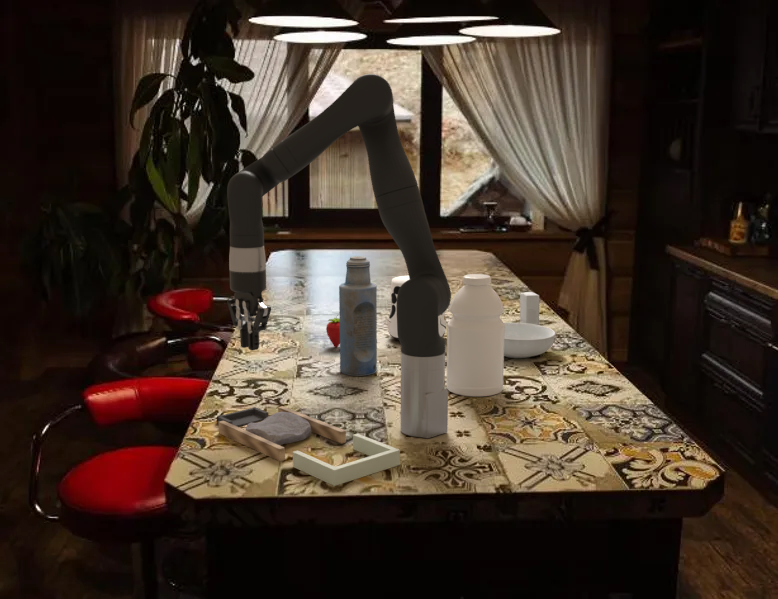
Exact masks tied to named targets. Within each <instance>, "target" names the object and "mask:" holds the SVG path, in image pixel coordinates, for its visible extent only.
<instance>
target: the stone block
mask: <svg viewBox="0 0 778 599" xmlns="http://www.w3.org/2000/svg"><path fill="white" fill-rule="evenodd" d="M245 430H246V431H248V432H250V433H253V434H255V435H257V436H259V437H262V438H264V439H266V440H268V441H271V442H273V443H275V444H277V445H280V446H283V445H285V444H292V443H296V442H299V441H303V440H305V439H307V438H309V437H310V436H311V434H312V432H311V427H310V424H309V422H308V421H307V420H305V419H303V418H301V417H300V416H298V415H295V414H293V413H288V412H278V411H277V412H275V413H273V414H271V415H268V417H267V418H266V419H264V420H262V421H258V422H254V423H252V422H251V423H249V424H246V427H245Z"/></svg>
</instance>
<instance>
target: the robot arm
mask: <svg viewBox="0 0 778 599" xmlns="http://www.w3.org/2000/svg"><path fill="white" fill-rule="evenodd" d="M356 127H358V129H359V132H360V134H361V138H362V140H363V143H364V145H365V149H366V153H367V158H368V167H369V175H370V181H371V186H372V190H373V194H374V195H373V196H374V198H375V203H376V206H377V210H378V212H379V213H378V214H379V216H380V219H381V221H382V223H383V226H384V227H385V228H386V230H387V233H388V234H389V235H390V236H391V238H392V239H393V241H394V242H395V244H396V245H397V246H398V248H399V250H400V252H401V254H402V256H403V259H404V262H405V265H406V269H407V272H408V275H409V278H410V279H409V280H407V281H406V282H404V283H403V284H402V286H401V287H400V289H399V291H398V295H397V333H398V338H399V340H398V341H399V344H400V431H401V433H402V434H403V435H407V436H409V437H415V438H424V439H430V438H433V437H436V436H440V435H442V434H443V435H444V434H446V433H448V424H449V423H448V422H449V421H448V417H449V415H448V414H449V411H448V410H449V390H448V389H447V387H446V388H445V384H446V379H445V377H446V372H445V371H446V341H445V338H444V336H443V337H441V336H440V335H439V328H438V316H439V315H441V314H442V313H445V312H447V310H448V309H449V306H450V304H451V301H452V291H451V287H450V284H449V281H448V279H447V276H446V273H445V271H444V269H443V266H442V262H441V261H440V258H439V256H438V254H437V251H436V248H435V245H434V241H433V236H432V233H431V229H430V225H429V221H428V218H427V214H426V212H425V206H424V203H423V199H422V195H421V192H420V189H419V184H418V181H417V179H416V175H415V172H414V170H413V168H412V165H411V162H410V160H409V158H408V156H407V153H406V151H405V150H404V147H403V145H402V141H401V138H400V133H399V129H398V125H397V119H396V112H395V107H394V96H393V90H392V87H391V84H390V83H389V82H388V81H387V80H386V79H385V78H384V77H382V76H381V75H379V74H375V73H367V74H362V75H361V76H359V77H357V78H355V79H354V81H353V82H352V83H351V84H350V85H349V86H348V87H347V88H346V90H344V91H343V92H342V93H341V94H340V95H339V96H338V97H337V98H336V99H335V100H334V101H333V102H332V103H330V105H329V106H327V107H326V108H325V109H324V110H323V111H321V113H319V114H318V115H317V116H316V117H314V118H313V119H311V120H310V121H308V122H307V123H306V124H304V125H302V126H301V127H299V128H298V129H297V130H295V131H294V132H292V133H291V134H290V135H289V136H287V137H286V138H284V139H283V140H280V141H279V142H278V143H277V144H275V145H274V146H273V147H272V148H270V149H269V150H268V151H266V153H264V154H263V155H262V157H260V158H258V159H257V160H256V161H254V162H252V163H250V164H249V165H247V166H245V167H244V168H243V169H242V170H240V171H238V172H237V173H235V174H234V175H232V177H231V178H230V179H229V180H228V183H227V190H226V191H227V193H226V194H227V195H226V196H227V197H226V198H227V206H228V215H229V256H228V257H229V259H228V260H229V262H228V263H229V264H228V266H229V269H228V270H229V288H230V290H231V291H232V292H234V295H233V298H228V299H227V301H226V303H227V307H228V309H229V310H228V311H229V314H230V317H231V320H232V321H231V322H232V324H233V326H234V327H235V326H236V327H237V329H238V331H239V337H240V347H241V348H243V349H245V348H248V350H250V351H255V350H258V349H259V348H260V332H262V331H265V330H266V328H267V325H268V322H269V318H270V315H271V311H272V307H271V306H270V305H267V306H266V305H265V304H264V298H263V291H265V290H266V288H267V266H266V265H267V259H266V251H265V233H264V232H265V230H264V223H263V220H262V214H263V213H262V212H263V211H262V210H263V208H262V207H263V206H262V204H263V203H262V202H263V201H262V200H263V197H264V196H266V194H268V193H269V192H270V191H272V190H273V189H274V188H275V187H276V186H278V185H280V184H281V183H283V182H285V181H287V180H289V179H290V178H292V177H294V175H296V174H298V173H299V172H300V171H302V170H304V168H306V167H307V166H308V165H310V164H311V163H312V162H313V161H315V160H316V159H317V158H318V157H320V156H321V154H323V152H325V151H326V150H327V149H328V148H329V147H330V146H332V144H334V143H335V142H336V141H338V139H340V138H341V137H342V136H344V135H345V134H346V133H349V132H350V131H351V130H353V129H355V128H356Z"/></svg>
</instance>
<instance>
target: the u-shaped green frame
mask: <svg viewBox="0 0 778 599" xmlns="http://www.w3.org/2000/svg"><path fill="white" fill-rule="evenodd" d="M352 450H354V451H356V452H359V453H361V454H364V455H367V456H366V457H363V458H360V459H359V458H358V459H357V460H352V461H350V462H347V463H343V464H340V465H336V466H335V465H332V464H330V463H328V462H325V461H323V460H321V459H318V458H316V457H314V456H312V455H309V454H307V453H304V452H302V451H300V450H294V451H292V466H293V468H294V469H297V470H298V471H299V470H300V471H301V472H303V473H305V474H307V475H310V476H312V477H314V478H317V479H318V480H321V481H322V482H325V483H327V484H329V485H331V486H334V487H335V486H339V485H341V484H346V483H348V482H351V481H355V480H357V479H360V478H364V477H366V476H369V475H373V474H375V473H379V472H382V471H385V470H388V469H390V468H394V467H398V466H400V464H401V450H400V449H399V448H396V447H394V446H391V445H388V444H385V443H383V442H380V441H378V440H375V439H372V438H370V437H367V436H364V435H363V434H360V433H355V434H352Z"/></svg>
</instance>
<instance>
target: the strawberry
mask: <svg viewBox="0 0 778 599" xmlns="http://www.w3.org/2000/svg"><path fill="white" fill-rule="evenodd" d="M338 316H339V314H337V315H336V316H335V317H334V318H330V319H328V320H327V321H328V323H327V325H326V328H325V330H326V335H327V337H328V339H329V340H330V342H331V344H332V345H333V347H334V348H338V347H340V318H337V317H338Z"/></svg>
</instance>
